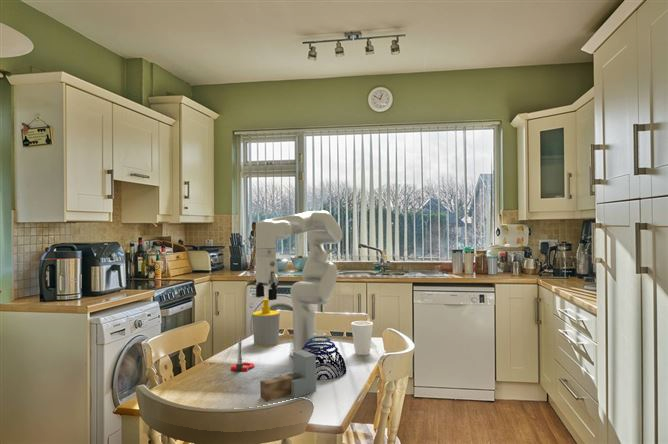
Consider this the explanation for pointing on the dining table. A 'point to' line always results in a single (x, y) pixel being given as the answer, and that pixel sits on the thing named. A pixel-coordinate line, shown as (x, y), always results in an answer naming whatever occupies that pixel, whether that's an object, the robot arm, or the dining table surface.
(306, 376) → the grey stepped block
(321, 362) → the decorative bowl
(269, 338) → the soap bottle
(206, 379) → the dining table surface
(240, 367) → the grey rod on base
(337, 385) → the dining table surface
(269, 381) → the brown wooden block
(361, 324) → the foam cup
